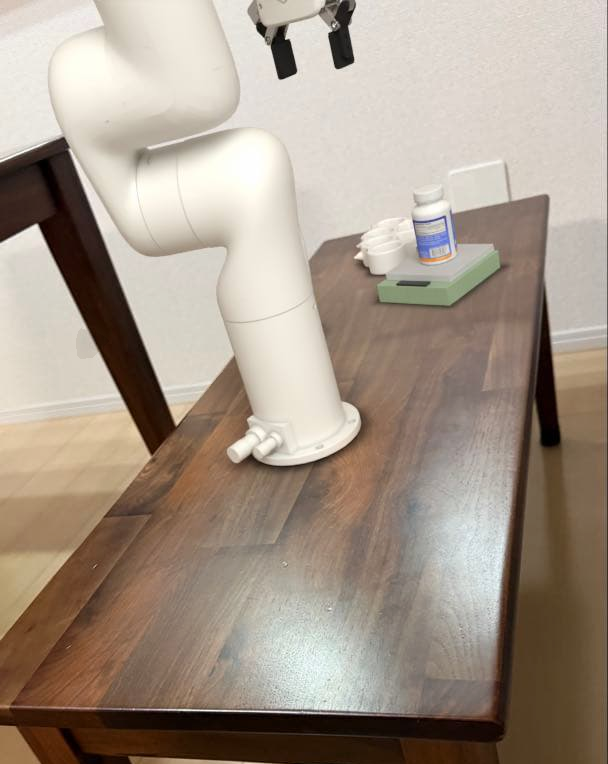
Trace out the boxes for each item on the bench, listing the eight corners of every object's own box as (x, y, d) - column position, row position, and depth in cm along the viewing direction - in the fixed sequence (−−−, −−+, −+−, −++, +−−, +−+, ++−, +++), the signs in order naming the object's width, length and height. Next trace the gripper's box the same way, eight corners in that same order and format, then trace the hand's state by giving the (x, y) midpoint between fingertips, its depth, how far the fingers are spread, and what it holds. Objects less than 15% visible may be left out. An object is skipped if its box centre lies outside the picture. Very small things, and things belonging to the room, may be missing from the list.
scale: (449, 305, 113) (445, 280, 111) (379, 302, 121) (374, 278, 119) (500, 267, 120) (497, 243, 118) (431, 266, 127) (427, 243, 125)
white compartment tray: (446, 261, 127) (352, 281, 131) (444, 226, 142) (359, 245, 145) (443, 239, 125) (347, 260, 129) (441, 206, 140) (355, 225, 143)
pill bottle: (432, 251, 122) (421, 182, 116) (465, 251, 118) (454, 179, 113) (412, 266, 119) (399, 196, 113) (445, 266, 115) (433, 194, 110)
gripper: (207, -69, 100) (248, 88, 109) (314, -109, 88) (349, 70, 98) (250, -81, 104) (286, 72, 113) (357, -121, 92) (388, 53, 102)
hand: (315, 71), depth 106 cm, fingers open, 9 cm apart
